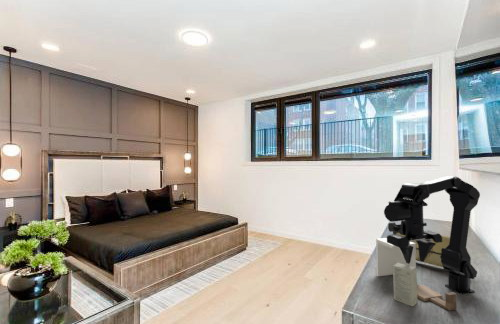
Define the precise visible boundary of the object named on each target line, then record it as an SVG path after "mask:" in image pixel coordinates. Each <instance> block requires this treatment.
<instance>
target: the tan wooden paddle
mask: <svg viewBox="0 0 500 324" xmlns="http://www.w3.org/2000/svg"><path fill="white" fill-rule="evenodd" d="M443 296H444V297H445V300H443V298H444V297H443ZM417 299H420V300H421V301H423V302H428V301H430V302H432V303H434V304H436V305H438V306H440V307H441V308H443V309H444V310H447V311H449V312H450V311H455V310H456V311H457V293H455V292H453V291H451V292H445V295H443V294H441V293H439V292H437V291H435V290H433V289H431V288H429V287H428V286H425V285H424V284H419V285H418V284H417Z"/></svg>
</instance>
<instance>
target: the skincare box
mask: <svg viewBox="0 0 500 324" xmlns="http://www.w3.org/2000/svg"><path fill="white" fill-rule="evenodd" d="M392 277H393V278H392V280H393V300H395V301H398V302H400V303H403V304H405V305H407V306H411V307H414V306H416V304H417V303H418V301H419V300H418V297H417V285H418V281H417V280H418V278H417V266H416V267H413V266H409V265H406V264H402V263H398V262H397V263H396V264H394V265H393V275H392Z"/></svg>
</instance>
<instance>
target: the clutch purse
mask: <svg viewBox="0 0 500 324" xmlns="http://www.w3.org/2000/svg"><path fill="white" fill-rule="evenodd" d="M396 234H398V235H401V234H400V233H396ZM440 235H441V236H442V242H439V243H436V245H434V246H433V248H432V249H431V250H430V252H429V253H428V255H427V257H426V258H425V260H424V262H423V263H424V265H423V264H421V263H420V262H421V261H420V258H419V247H418V244H417V242H416V241H412V242H413V243H416V266H417V265H418V266H420V267H424V268H426V269H430V270H434V271H439V272H444V273H449V272H450V271H447V270H444V269H437V268H434V267H430V266H426V265H425V264H428V265H433V266H436V267H440V268H443V265H442V263H441V258H440V256H441V249H442V248H446V247H447V246H448V245H449V241H450V235H442V234H440ZM401 236H405V235H401ZM431 240H432V242H433V243H435V242H434V241H433V239H431ZM466 250H467V251H468V248H467V247H466ZM417 261H418V262H419V263H417Z"/></svg>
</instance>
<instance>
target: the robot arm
mask: <svg viewBox="0 0 500 324" xmlns="http://www.w3.org/2000/svg"><path fill="white" fill-rule="evenodd" d="M442 191H445V193H447V194H448V195H449V201H450V204H451V206H452V208H453V212H452V220H451V227H450V235H449V237H450V241H449V245H448V246H447V247H446V248H442V249H441V256H440V258H441V263H442V265H443V267H442V268H443V269H442V270H444V271H450V272H448V279H447V280H448V281H447V282H448V284H444V287H445V288H448V289H449V290H452V291H454V292H456V293H458V294H460V295H467V294H473V293H476V291H475V290H473V289H471V280H475V278H476V277H477V274H478V270H477V269H476V268H475V267H474V266H473V265H472V264H471V260H472V259H471V256H470V254H469V252H468V249H467V250H466V248H467V242H468V236H469V235H468V234H469V227H470V220H471V219H470V218H471V211H472V210H473V209H474V208H475V207H476V206H477V205H478V203H479V199H480V198H481V197H480V196H481V194H480V191H479V190H478V189H477V188H476V187H475V186H474V185H472V184H470V183H468V182H466V181H464V180H462V179H461V178H460V177H458V176H450V175H449V176H447V175H444V176H442V177H440V178H436V179H432V180H427V181H424V182H419V183H418V182H416V183H415V182H409V183H403V184H401V187H400V189H399V191H397V194H396V196H395V198H394V200H393V201H392V200H391V201H388V205H386V206H385V208H384V210H383V215H384V217H385V218H386V219H387V221H389V223H388V225H387V228H388V231H389V232H391V233H392V234H387V236H386V238H387V243H390V244H392V245H395V246H397V247H399V248H400V250H401V251H402V254H403V256H404V259H405V261H406V263H408V264H410V261H411V256H412V252H413V247H412V246H410V242H412V241H416V242H417V244H418V247H419V258H420V261H421V262H422V263H424V260H425V258H426V257H427V255H428V253H429V252H430V250H431V249H432V248H433V246H434V245H436V243H439V242H442V236H441V235H442V234H440V233H439V232H435V231H432V230H425V228H424V227H427V226H428V224H427V222H424V207H428V203H427V202H425V200H426V199H428V198H429V197H430V195H431V194H434V193H439V192H442ZM399 221H400V223H399V224H396V222H399ZM396 233H400V234H401V235H405V236H401V235H398V234H396ZM431 239H433V241H434V242H435V243H433V242H432V240H431ZM420 261H419V262H420Z"/></svg>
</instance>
